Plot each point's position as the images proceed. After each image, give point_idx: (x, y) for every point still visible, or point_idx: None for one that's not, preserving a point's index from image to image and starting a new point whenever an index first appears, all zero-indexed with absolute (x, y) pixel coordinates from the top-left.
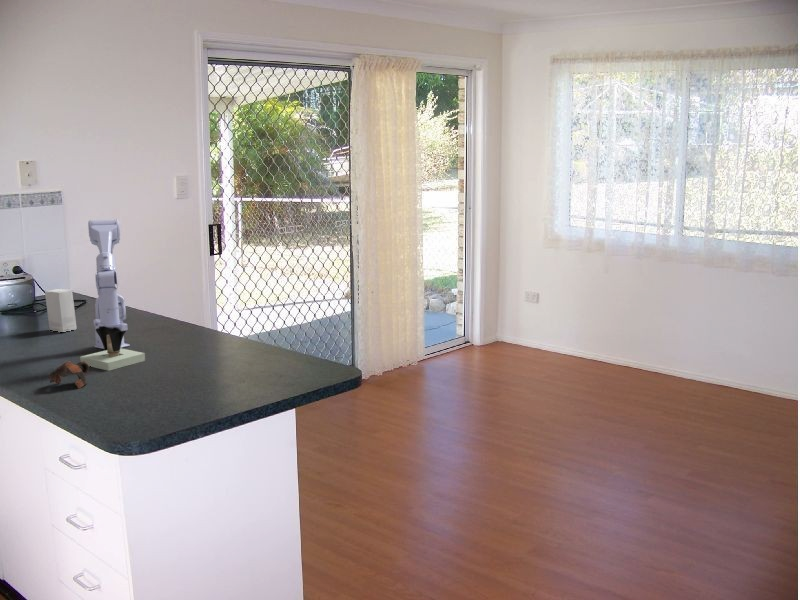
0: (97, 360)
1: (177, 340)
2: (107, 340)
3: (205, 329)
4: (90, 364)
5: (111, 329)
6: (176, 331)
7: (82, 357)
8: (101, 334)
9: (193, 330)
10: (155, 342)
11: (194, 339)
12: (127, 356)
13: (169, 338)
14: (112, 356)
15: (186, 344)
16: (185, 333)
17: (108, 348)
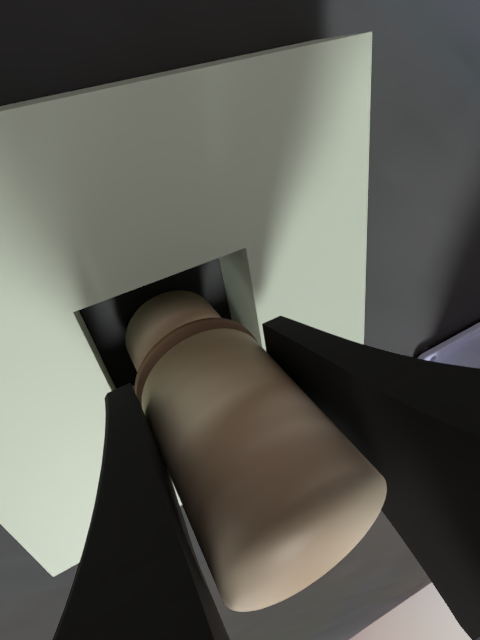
0: (22, 110)
1: (324, 587)
2: (277, 422)
3: (362, 628)
4: (167, 71)
5: (441, 576)
6: (413, 563)
7: (332, 39)
8: (426, 419)
9: (381, 602)
10: None
11: (288, 634)
12: (14, 463)
13: (368, 559)
14: (147, 336)
15: (245, 630)
16: (374, 590)
17: (209, 356)
